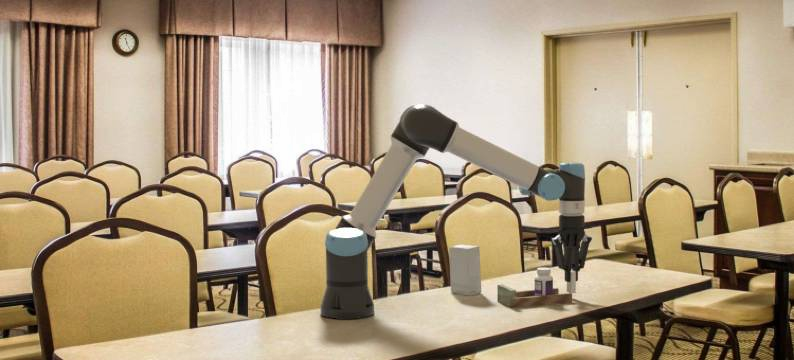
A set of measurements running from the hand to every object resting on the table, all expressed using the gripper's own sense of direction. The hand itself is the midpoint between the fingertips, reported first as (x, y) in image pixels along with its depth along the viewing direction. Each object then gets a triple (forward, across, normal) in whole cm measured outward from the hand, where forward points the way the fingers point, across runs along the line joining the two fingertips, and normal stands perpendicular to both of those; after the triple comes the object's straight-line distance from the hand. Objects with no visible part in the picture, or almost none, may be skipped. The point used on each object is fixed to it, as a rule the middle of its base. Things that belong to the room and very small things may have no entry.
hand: (571, 292), depth 271 cm
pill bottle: (+2, -9, 0) cm, 10 cm away
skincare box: (+2, -26, +19) cm, 33 cm away
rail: (+2, -12, 0) cm, 12 cm away
